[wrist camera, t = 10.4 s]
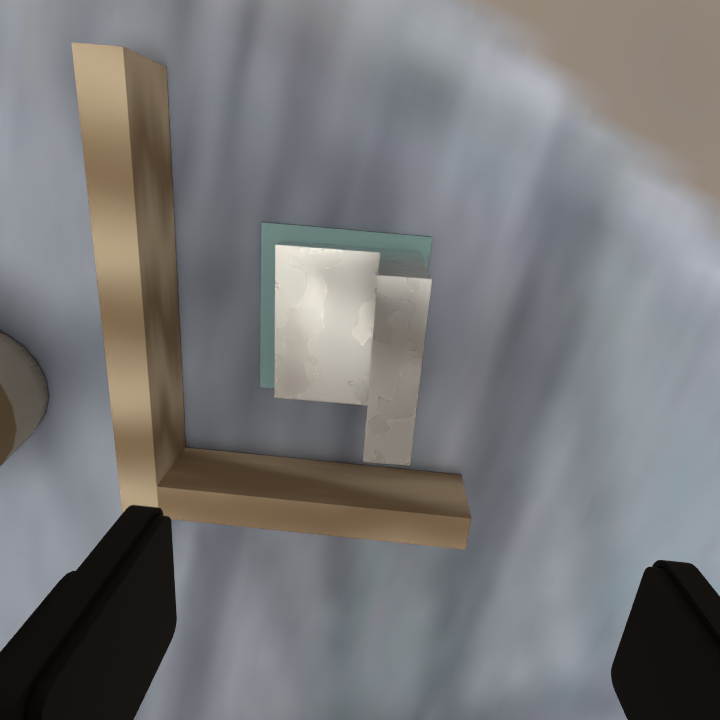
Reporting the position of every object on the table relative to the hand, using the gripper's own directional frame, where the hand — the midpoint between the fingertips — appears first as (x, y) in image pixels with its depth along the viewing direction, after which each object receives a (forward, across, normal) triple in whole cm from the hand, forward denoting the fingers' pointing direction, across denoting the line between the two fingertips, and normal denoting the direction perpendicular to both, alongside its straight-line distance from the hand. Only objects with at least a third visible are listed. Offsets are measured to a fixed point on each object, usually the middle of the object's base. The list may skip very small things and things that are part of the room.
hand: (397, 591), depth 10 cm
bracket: (+18, +3, 0) cm, 18 cm away
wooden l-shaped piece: (+18, +4, -1) cm, 18 cm away
